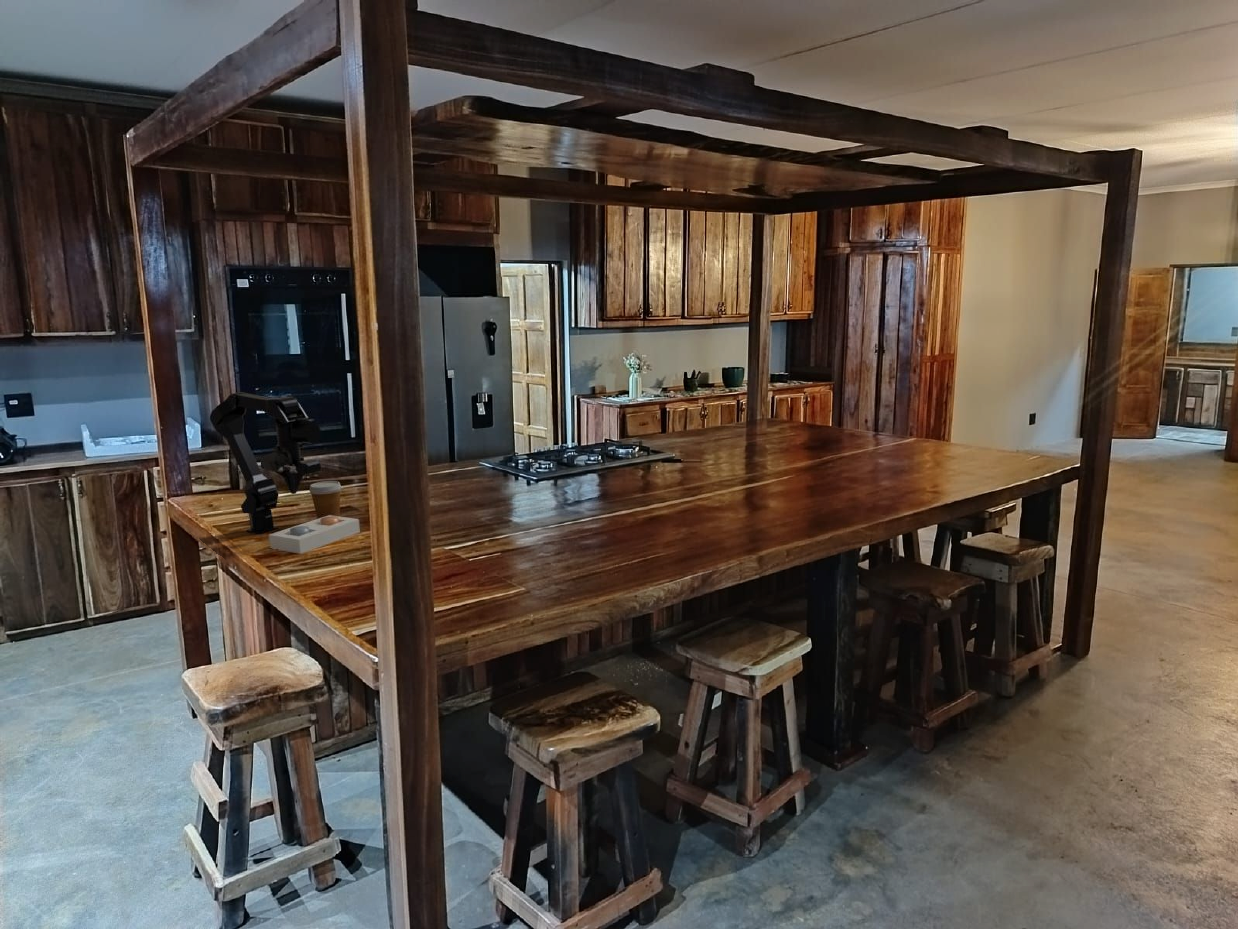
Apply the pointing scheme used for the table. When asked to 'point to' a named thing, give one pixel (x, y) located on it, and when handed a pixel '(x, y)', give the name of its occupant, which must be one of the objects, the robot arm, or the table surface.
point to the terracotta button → (329, 520)
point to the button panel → (314, 535)
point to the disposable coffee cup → (326, 498)
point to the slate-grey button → (299, 530)
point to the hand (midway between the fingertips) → (293, 493)
